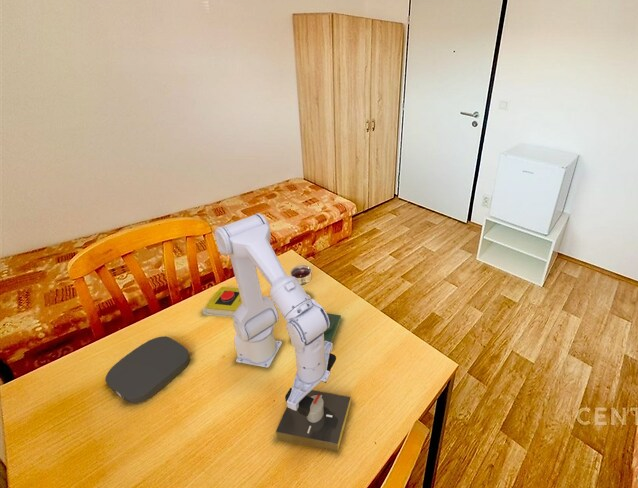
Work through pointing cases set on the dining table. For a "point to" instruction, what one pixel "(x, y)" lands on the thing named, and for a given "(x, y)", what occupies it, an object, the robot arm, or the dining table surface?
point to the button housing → (332, 327)
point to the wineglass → (302, 275)
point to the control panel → (317, 423)
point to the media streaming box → (147, 369)
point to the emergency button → (223, 302)
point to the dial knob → (316, 409)
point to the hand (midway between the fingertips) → (313, 396)
